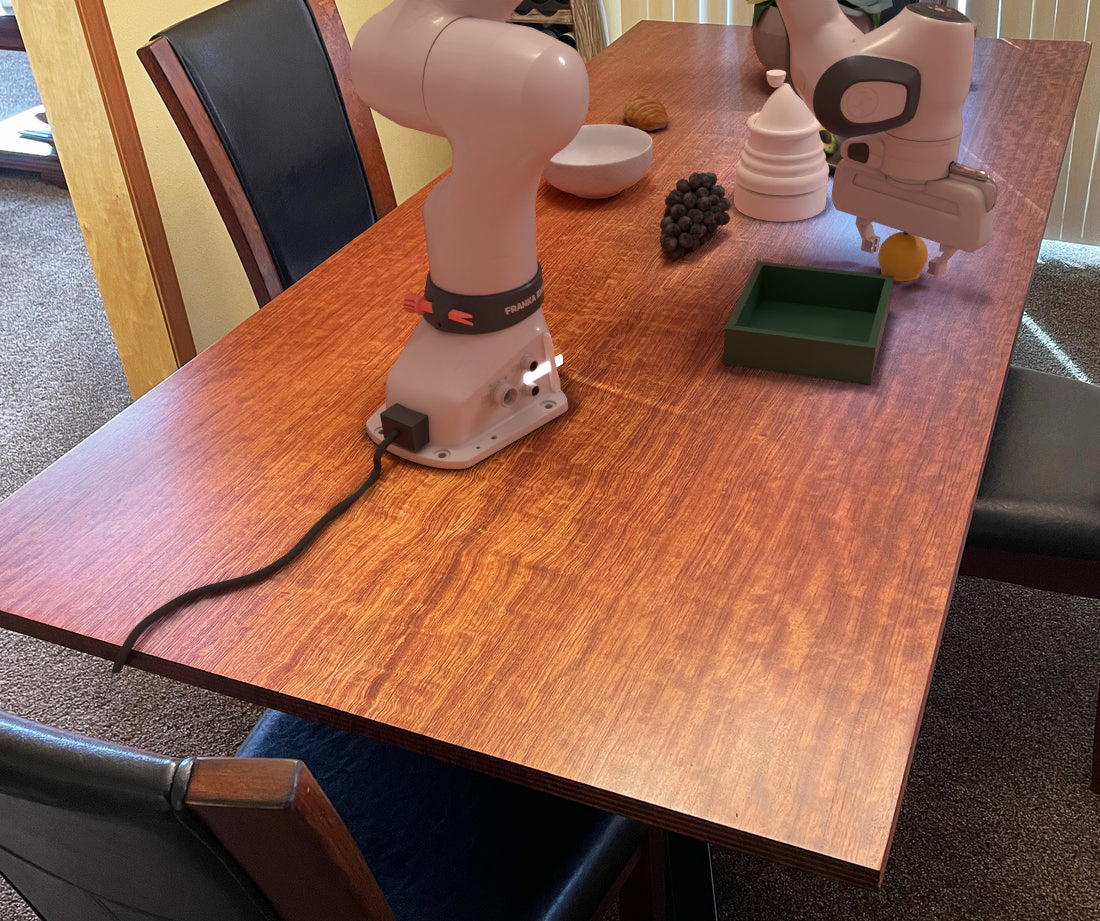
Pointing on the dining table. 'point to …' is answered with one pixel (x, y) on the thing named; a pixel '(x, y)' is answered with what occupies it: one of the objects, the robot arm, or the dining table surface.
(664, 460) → the dining table surface
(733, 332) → the crate
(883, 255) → the orange
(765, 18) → the flower arrangement
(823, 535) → the dining table surface
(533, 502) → the dining table surface
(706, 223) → the fruit
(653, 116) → the pastry
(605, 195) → the cereal bowl
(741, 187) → the honey pot
